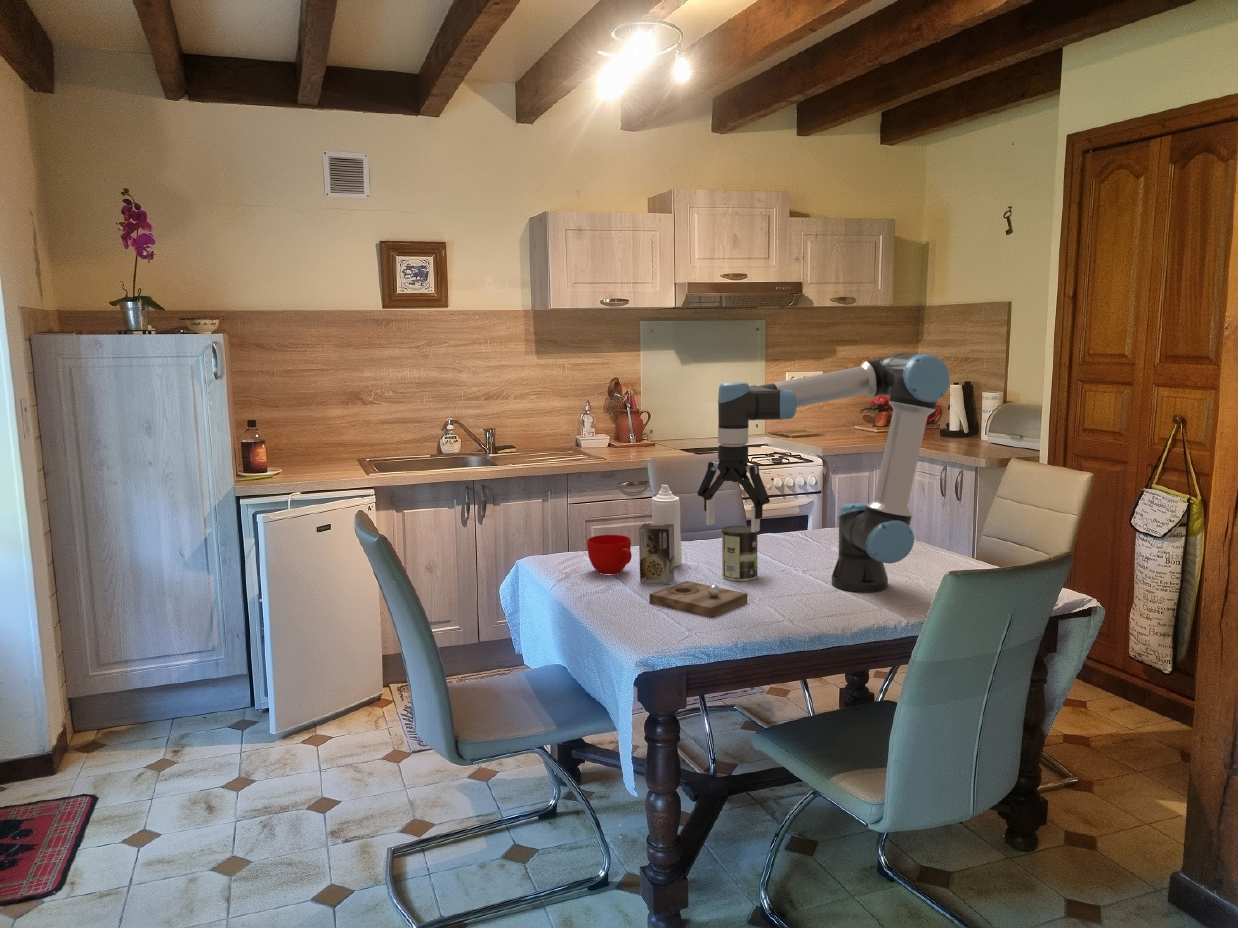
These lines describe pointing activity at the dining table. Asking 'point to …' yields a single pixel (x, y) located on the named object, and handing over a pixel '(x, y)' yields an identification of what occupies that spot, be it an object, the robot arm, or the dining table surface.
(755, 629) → the dining table surface
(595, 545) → the ceramic cup
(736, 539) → the coffee can
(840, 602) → the dining table surface
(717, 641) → the dining table surface
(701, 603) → the wooden board
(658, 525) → the coffee box
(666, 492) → the spray can
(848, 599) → the dining table surface
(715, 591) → the steel ball
